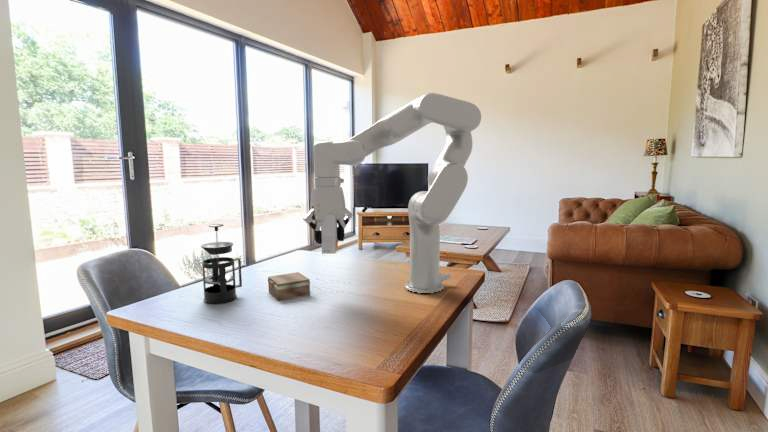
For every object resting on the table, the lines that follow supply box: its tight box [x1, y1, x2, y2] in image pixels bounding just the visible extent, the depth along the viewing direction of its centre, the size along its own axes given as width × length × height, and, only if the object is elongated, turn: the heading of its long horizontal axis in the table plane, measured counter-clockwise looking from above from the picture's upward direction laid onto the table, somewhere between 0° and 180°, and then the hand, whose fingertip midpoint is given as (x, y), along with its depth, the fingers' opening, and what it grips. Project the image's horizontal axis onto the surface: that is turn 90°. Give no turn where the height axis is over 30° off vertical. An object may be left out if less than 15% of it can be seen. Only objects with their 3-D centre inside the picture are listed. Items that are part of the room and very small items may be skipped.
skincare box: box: [320, 214, 339, 255], centre depth 130 cm, size 6×4×12 cm
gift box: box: [267, 271, 311, 301], centre depth 134 cm, size 11×10×5 cm
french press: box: [200, 223, 243, 305], centre depth 128 cm, size 12×9×23 cm
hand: (329, 241), depth 130 cm, fingers closed on skincare box, 6 cm apart
